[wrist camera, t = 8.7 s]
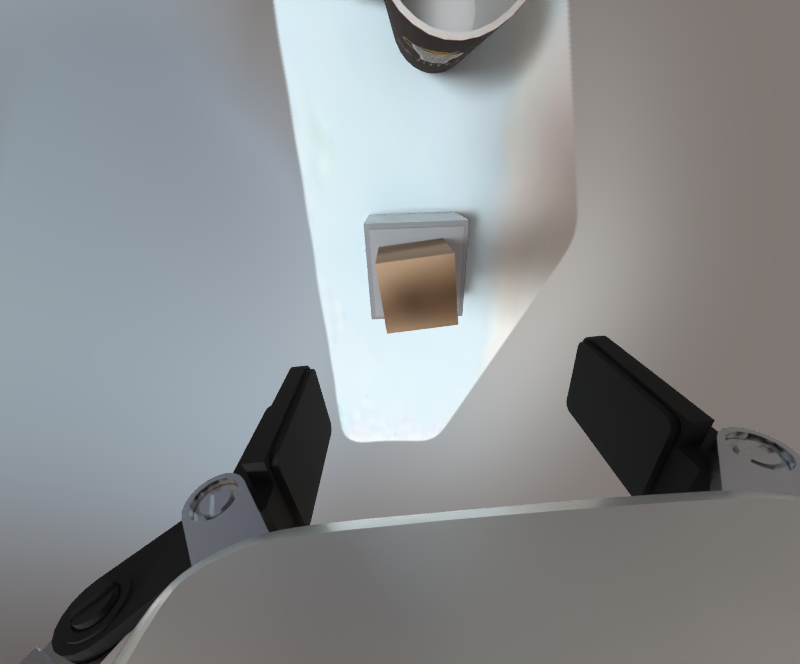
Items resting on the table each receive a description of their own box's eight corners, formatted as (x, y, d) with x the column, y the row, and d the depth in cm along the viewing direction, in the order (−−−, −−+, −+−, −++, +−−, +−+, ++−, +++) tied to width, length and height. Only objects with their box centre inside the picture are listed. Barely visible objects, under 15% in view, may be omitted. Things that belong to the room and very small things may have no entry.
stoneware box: (369, 214, 28) (363, 224, 22) (454, 211, 28) (469, 220, 22) (375, 295, 32) (371, 320, 26) (450, 292, 32) (462, 317, 26)
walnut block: (378, 247, 23) (375, 263, 19) (442, 238, 23) (454, 252, 19) (388, 306, 26) (387, 333, 21) (446, 298, 25) (457, 324, 21)
